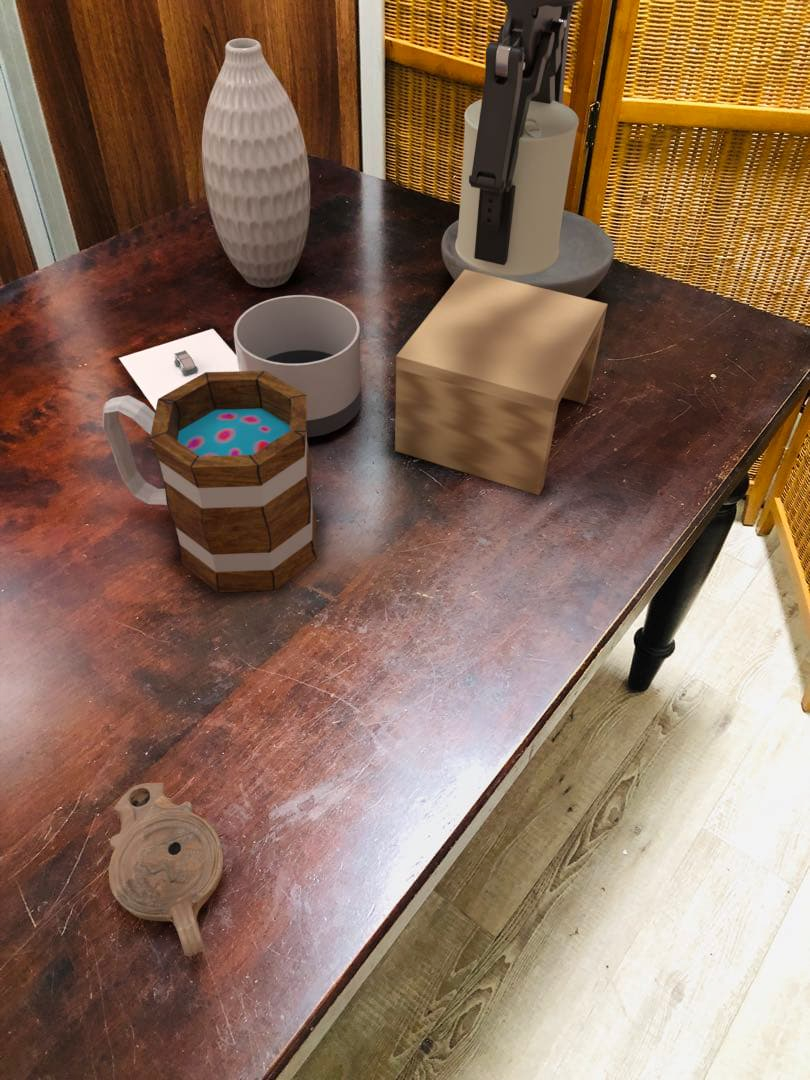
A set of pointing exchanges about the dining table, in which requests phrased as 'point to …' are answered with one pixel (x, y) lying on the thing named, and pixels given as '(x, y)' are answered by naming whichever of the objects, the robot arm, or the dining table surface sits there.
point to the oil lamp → (164, 861)
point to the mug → (228, 475)
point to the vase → (255, 168)
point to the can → (524, 190)
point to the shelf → (494, 377)
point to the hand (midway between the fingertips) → (509, 234)
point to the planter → (306, 354)
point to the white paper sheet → (179, 363)
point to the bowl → (573, 271)
